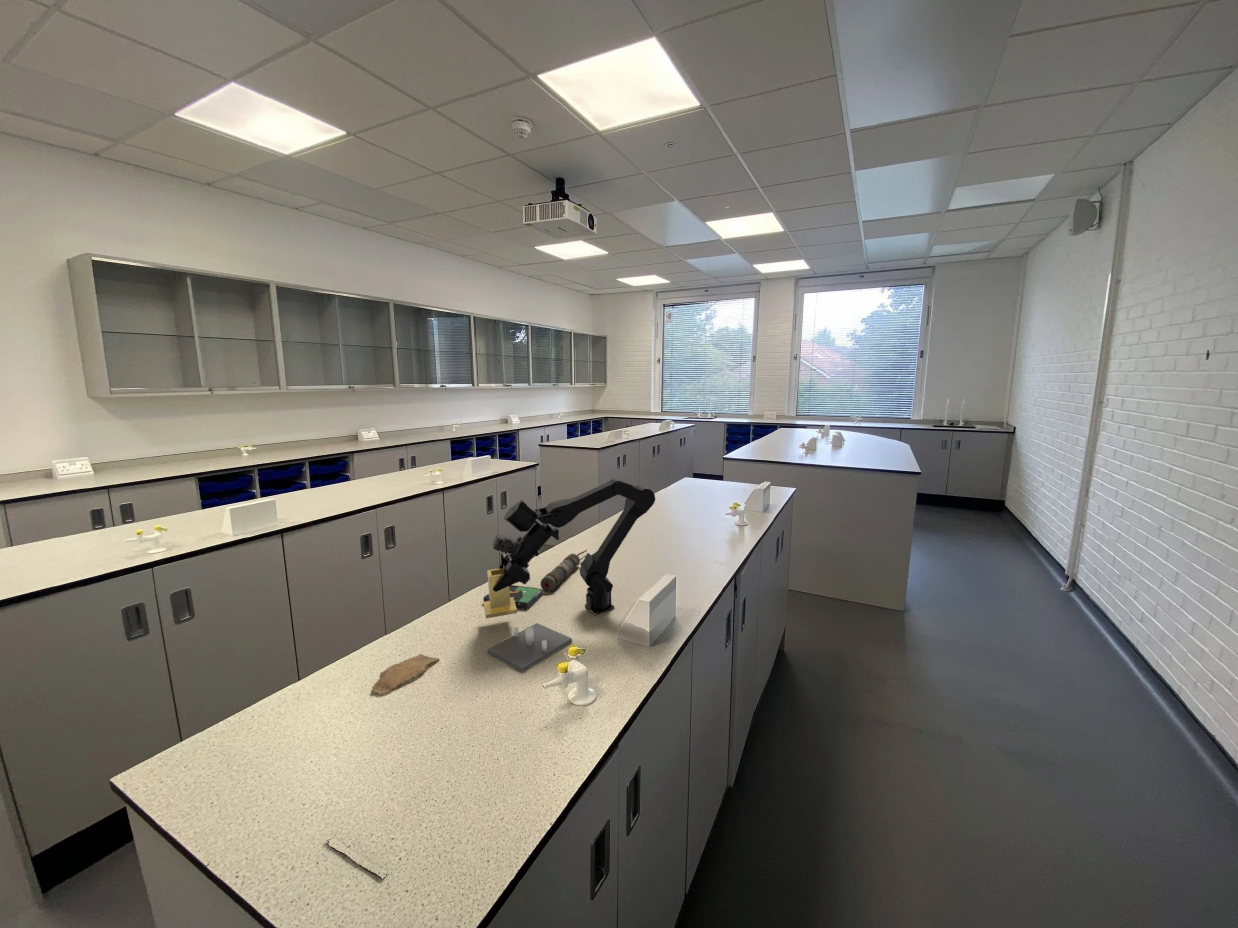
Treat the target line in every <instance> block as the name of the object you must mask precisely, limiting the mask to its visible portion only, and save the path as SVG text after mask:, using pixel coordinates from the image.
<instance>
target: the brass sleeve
mask: <svg viewBox="0 0 1238 928" xmlns="http://www.w3.org/2000/svg"><path fill="white" fill-rule="evenodd" d="M503 572H504V570H503V568H500V569H498V568H492V569H488V570H487V587H488V594H489V601H486V602H484V601H483V610H484V616H485V619H490V618H497V617H501V616H502V617H504V616H508V615H514V614H518V608H516V605H515V602H514V598H513V597H510V593H509V586H508V587H506V588H504V589H501V590H499V591H497V592H495V591H493V588H494V586H495V585H496V583H497V582H498V580H499V579H500V577H501V576H502V574H503Z"/></svg>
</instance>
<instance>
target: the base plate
mask: <svg viewBox="0 0 1238 928" xmlns="http://www.w3.org/2000/svg"><path fill="white" fill-rule="evenodd" d="M519 630H520V629H519V627H518V626H517V627H516V626H515V627H514V628H513V635H512V636H510V637H508V638H506V639H504V640H502V641H500V642H498V643H496V644H494V645H493V646H491V647H489V648H487V649H486V651H487V654H488V655H490V656H492V657H494V658H496V659H497V660H499V661H501V662H503V663H505V664H506V665H509V667H512V668H513V669H516V670H517V671H519V672H522V673H523V672H526V671H528V669H531V668H532V667H534V666H535V665H537V664H539V663H541V662H542V661H543V660H545V659H547V658H548V657H550V656H551V655H553V654H555V653H556V652H558V651H559V650H561V649H563V648H565V647H566V646H568V645H569V644H572V642H573V639H572V638H571V636H568V635H565V634H563V633H561V632H559V631H556V630H554V629H551V628H549V627H546V625H545V626H544V625H543V624H540V623H538V622H537V623H534V624H532V625H530V626H527V627H525V628H524V629H522V630H520V631H519Z"/></svg>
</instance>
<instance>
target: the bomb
mask: <svg viewBox="0 0 1238 928" xmlns="http://www.w3.org/2000/svg"><path fill="white" fill-rule="evenodd" d="M586 552H588V550H587V549H586V550H584V551H581V552H579V553H578V554H577V553H570V554H568V555H567V556H566V557H565V558H564V559H562V561H561V562H560V563H559V564H558V565H557V566H556V567H555V568H553V569H552V570H551V571H550V572H548V573H547V574H546V575H545V576H544V577H542V579H541V580H540V588H541V589H542V590H543V592H547V593H550V592H553V591H554V590H555V589H556V588H557V587H558V586H559V585H561V583H562V581H563V580H564V579H566V577H567V576H568V575H570V574H571V573H572V570H573V571H574V570H576V568H577V567H578V566H579V565H580V563H581V559H580V557H579V556H580V555H583V554H585V553H586Z"/></svg>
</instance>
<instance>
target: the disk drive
mask: <svg viewBox="0 0 1238 928" xmlns="http://www.w3.org/2000/svg"><path fill="white" fill-rule="evenodd" d="M509 593H510V597H513V598H514V602H515V605H516V608H517V610H518V609H519V610H524V611H525V610H526V611H527V610H529V609H531V608H532V607H533V606H534V605H535V604H536V603H537V601H539V600H540V599H541V597H543V596H544V590H543V589H542V588H539V587H531V586H522V585H521V586H520V585H515V584H513V585H510V586H509ZM482 600H483V603H484V602H486V601H489V593H488V594H486V595H484V596H483V599H482Z"/></svg>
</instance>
